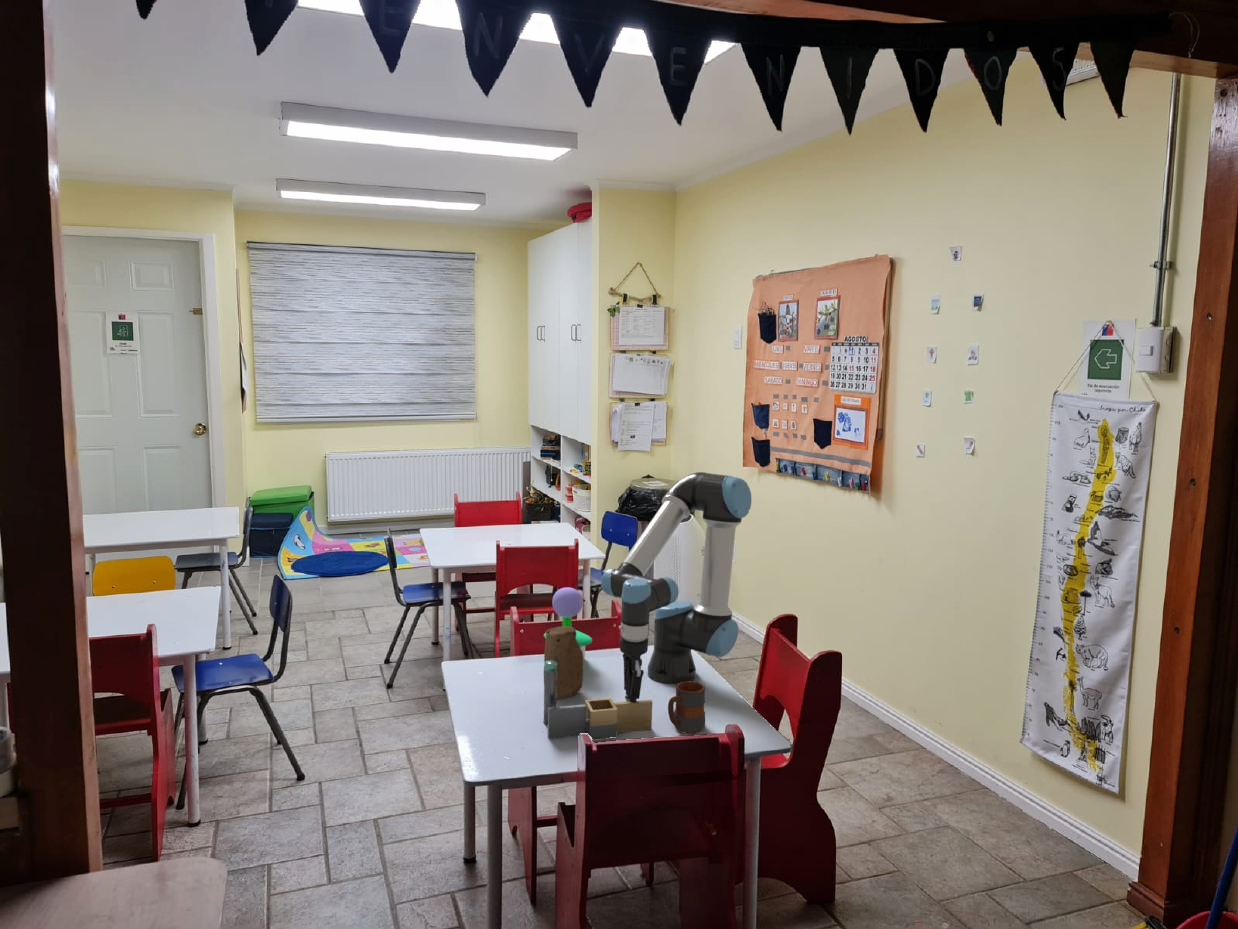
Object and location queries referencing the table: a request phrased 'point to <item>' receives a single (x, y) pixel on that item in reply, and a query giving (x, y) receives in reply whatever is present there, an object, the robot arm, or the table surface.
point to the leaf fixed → (575, 723)
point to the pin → (549, 687)
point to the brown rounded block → (565, 659)
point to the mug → (688, 707)
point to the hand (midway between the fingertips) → (630, 719)
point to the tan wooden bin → (620, 714)
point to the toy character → (570, 612)
